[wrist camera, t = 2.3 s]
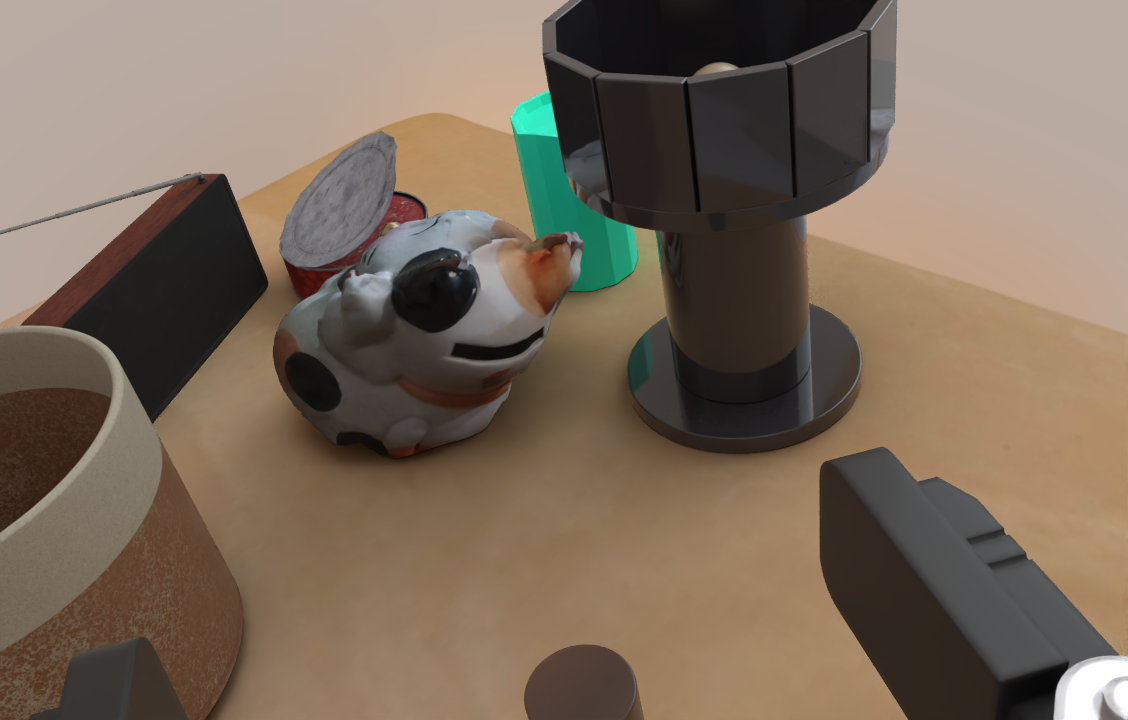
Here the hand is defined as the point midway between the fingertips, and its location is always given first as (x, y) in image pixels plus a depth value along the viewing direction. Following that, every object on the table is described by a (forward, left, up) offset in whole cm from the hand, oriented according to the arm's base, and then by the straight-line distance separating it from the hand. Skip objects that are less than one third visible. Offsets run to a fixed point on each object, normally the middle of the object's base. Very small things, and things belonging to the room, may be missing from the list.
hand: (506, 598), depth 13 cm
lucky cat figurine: (+27, -28, -26) cm, 47 cm away
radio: (+45, -24, -26) cm, 57 cm away
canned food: (+40, -37, -26) cm, 61 cm away
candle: (+25, -41, -26) cm, 55 cm away
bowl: (+12, -34, -26) cm, 44 cm away
